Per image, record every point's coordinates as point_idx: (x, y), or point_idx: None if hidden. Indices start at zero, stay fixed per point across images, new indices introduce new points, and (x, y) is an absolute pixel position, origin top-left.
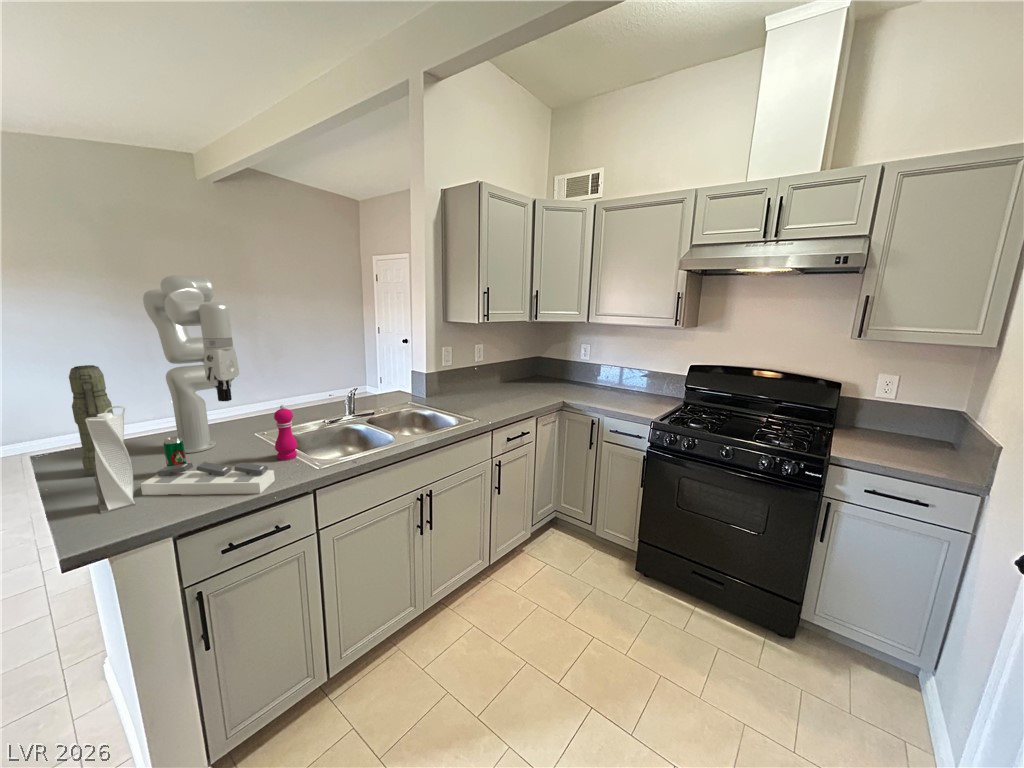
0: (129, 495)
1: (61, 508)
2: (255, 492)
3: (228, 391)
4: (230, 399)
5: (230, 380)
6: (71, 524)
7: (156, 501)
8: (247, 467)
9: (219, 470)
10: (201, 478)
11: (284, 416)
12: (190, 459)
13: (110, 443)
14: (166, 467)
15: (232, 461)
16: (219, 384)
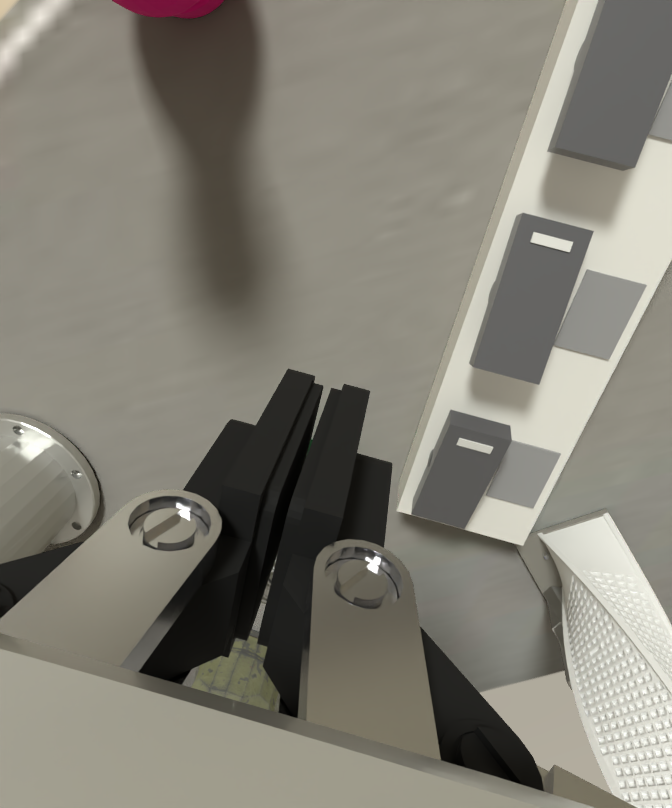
0: (613, 547)
1: (531, 667)
2: None
3: (329, 472)
4: (312, 380)
5: (43, 623)
6: None
7: (609, 455)
8: (646, 80)
9: (574, 264)
10: (573, 338)
11: None
12: (166, 460)
13: None
14: (424, 509)
15: (213, 282)
16: (531, 773)
